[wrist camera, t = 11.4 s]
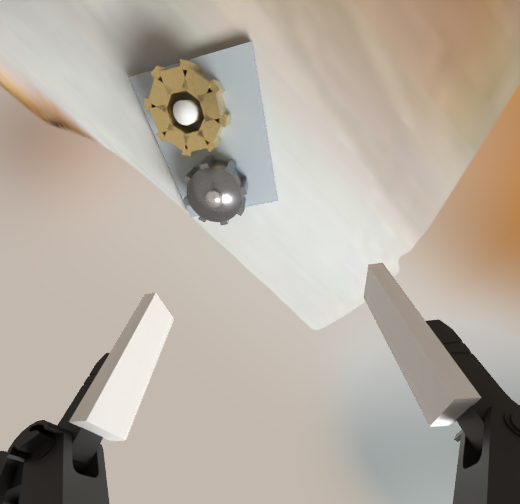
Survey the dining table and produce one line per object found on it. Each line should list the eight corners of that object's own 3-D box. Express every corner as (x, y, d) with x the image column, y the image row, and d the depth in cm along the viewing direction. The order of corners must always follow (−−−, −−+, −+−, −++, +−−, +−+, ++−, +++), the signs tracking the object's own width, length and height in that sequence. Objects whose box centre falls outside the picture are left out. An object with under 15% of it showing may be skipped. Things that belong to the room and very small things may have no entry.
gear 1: (148, 76, 26) (128, 73, 22) (217, 57, 25) (209, 49, 21) (179, 153, 32) (167, 161, 28) (237, 140, 31) (233, 146, 27)
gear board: (134, 77, 28) (101, 73, 22) (252, 43, 26) (250, 29, 20) (192, 213, 39) (181, 233, 34) (277, 197, 37) (280, 215, 32)
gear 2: (181, 162, 32) (168, 173, 28) (240, 148, 31) (236, 158, 27) (203, 215, 38) (195, 232, 33) (254, 206, 37) (252, 222, 32)
